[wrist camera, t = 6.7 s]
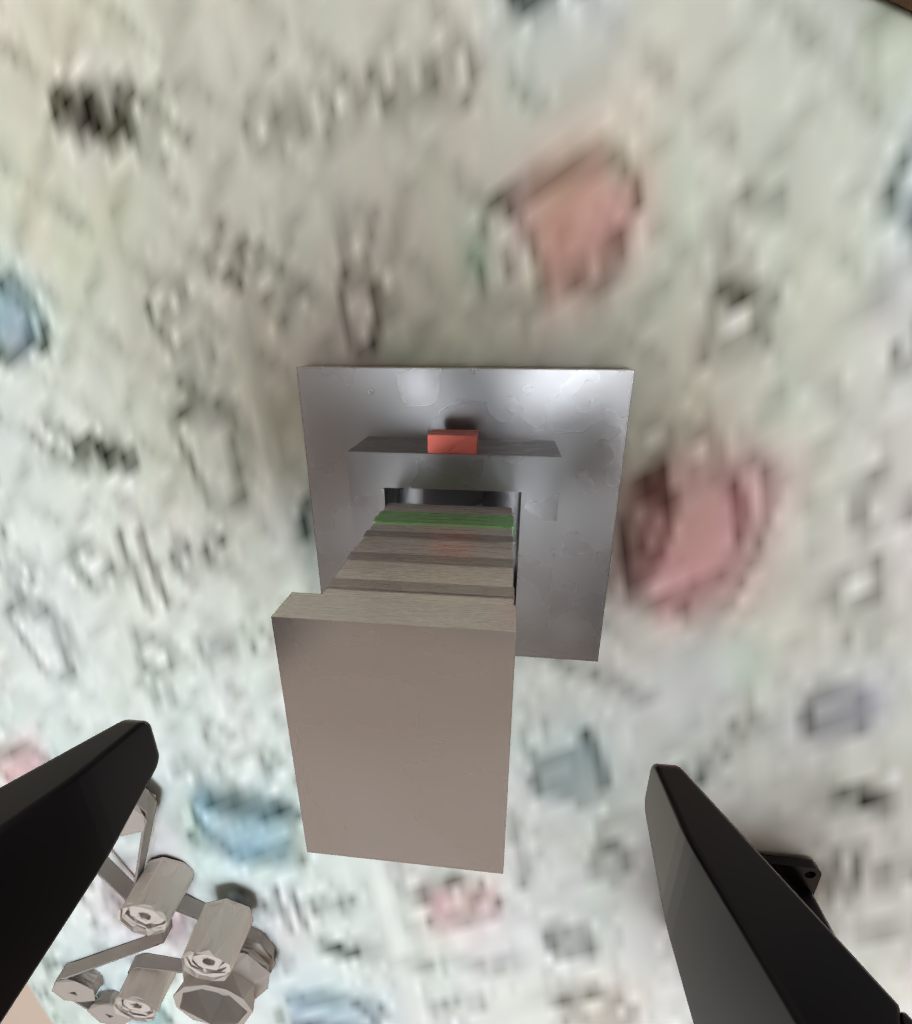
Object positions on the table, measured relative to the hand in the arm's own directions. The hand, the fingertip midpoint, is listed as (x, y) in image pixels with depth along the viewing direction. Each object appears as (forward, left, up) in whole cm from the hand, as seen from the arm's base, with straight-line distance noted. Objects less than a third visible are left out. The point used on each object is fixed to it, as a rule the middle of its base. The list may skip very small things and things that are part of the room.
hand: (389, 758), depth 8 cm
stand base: (0, 0, -12) cm, 12 cm away
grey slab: (0, 0, -8) cm, 8 cm away
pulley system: (+19, +31, -13) cm, 39 cm away
